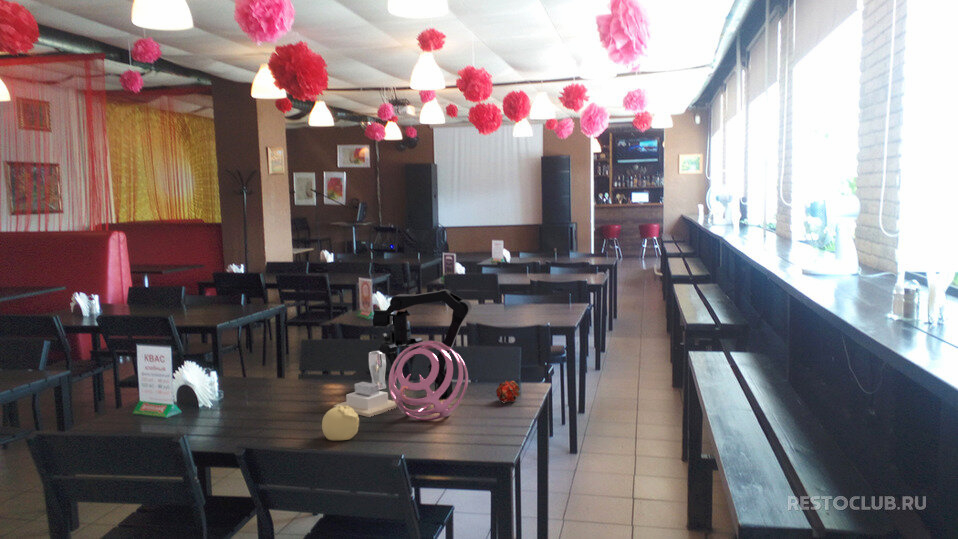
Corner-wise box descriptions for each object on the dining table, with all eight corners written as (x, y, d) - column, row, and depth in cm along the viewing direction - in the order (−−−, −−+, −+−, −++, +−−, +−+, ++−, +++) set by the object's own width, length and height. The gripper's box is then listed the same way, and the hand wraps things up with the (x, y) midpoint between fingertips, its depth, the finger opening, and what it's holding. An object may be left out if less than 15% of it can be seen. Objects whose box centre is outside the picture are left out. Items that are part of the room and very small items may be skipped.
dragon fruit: (517, 401, 266) (504, 414, 256) (499, 387, 268) (486, 400, 257) (527, 385, 262) (515, 398, 252) (509, 371, 264) (497, 384, 254)
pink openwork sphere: (424, 348, 268) (399, 319, 245) (488, 370, 257) (468, 342, 234) (392, 415, 258) (363, 391, 235) (458, 441, 247) (433, 419, 224)
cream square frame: (401, 405, 261) (401, 392, 260) (369, 417, 248) (368, 402, 248) (366, 398, 273) (365, 385, 273) (333, 408, 261) (332, 394, 261)
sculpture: (363, 440, 224) (361, 407, 223) (325, 446, 220) (323, 413, 219) (357, 430, 235) (355, 398, 234) (321, 435, 231) (318, 403, 230)
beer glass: (385, 389, 284) (383, 353, 283) (368, 390, 284) (366, 354, 283) (388, 385, 291) (386, 350, 290) (371, 386, 291) (369, 350, 290)
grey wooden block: (379, 404, 260) (378, 384, 259) (371, 407, 256) (370, 387, 256) (363, 400, 265) (362, 381, 264) (355, 403, 262) (354, 384, 261)
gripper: (402, 321, 284) (404, 359, 285) (368, 329, 269) (370, 368, 271) (422, 323, 276) (424, 362, 278) (388, 331, 262) (390, 372, 264)
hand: (402, 366), depth 273 cm, fingers open, 9 cm apart
